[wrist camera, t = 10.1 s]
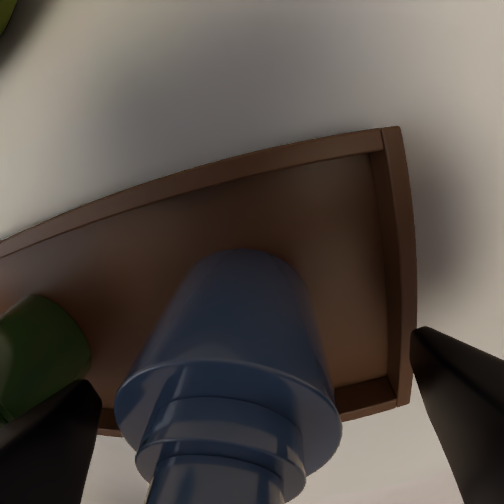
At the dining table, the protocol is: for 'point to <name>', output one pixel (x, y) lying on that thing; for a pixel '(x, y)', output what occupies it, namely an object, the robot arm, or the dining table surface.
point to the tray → (249, 237)
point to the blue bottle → (231, 387)
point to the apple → (6, 12)
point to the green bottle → (38, 354)
